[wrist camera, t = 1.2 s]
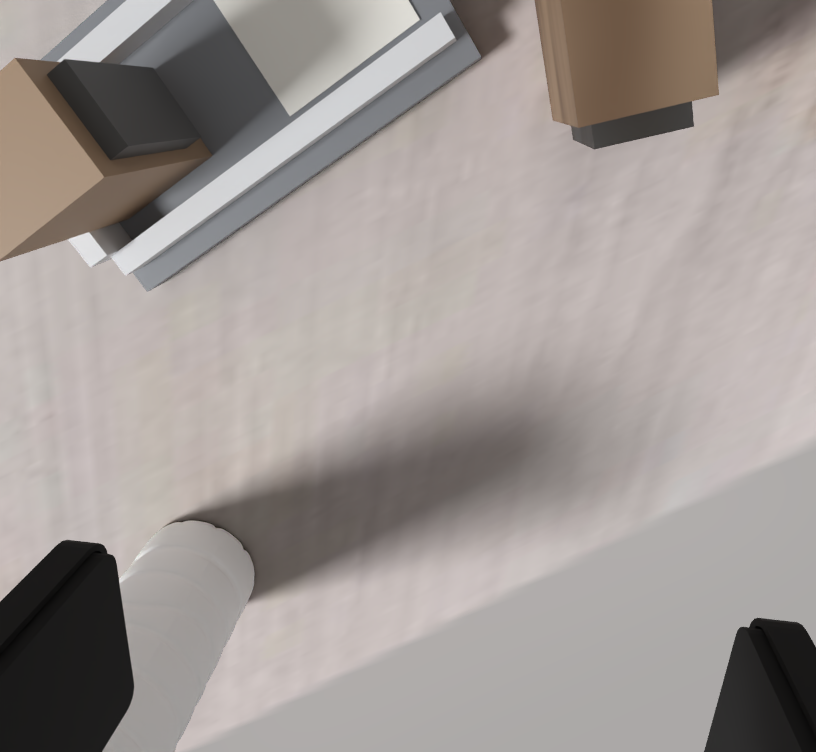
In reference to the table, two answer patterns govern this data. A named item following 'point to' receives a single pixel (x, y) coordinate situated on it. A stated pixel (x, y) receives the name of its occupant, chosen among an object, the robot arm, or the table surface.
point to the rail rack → (202, 117)
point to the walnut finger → (626, 65)
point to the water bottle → (178, 627)
